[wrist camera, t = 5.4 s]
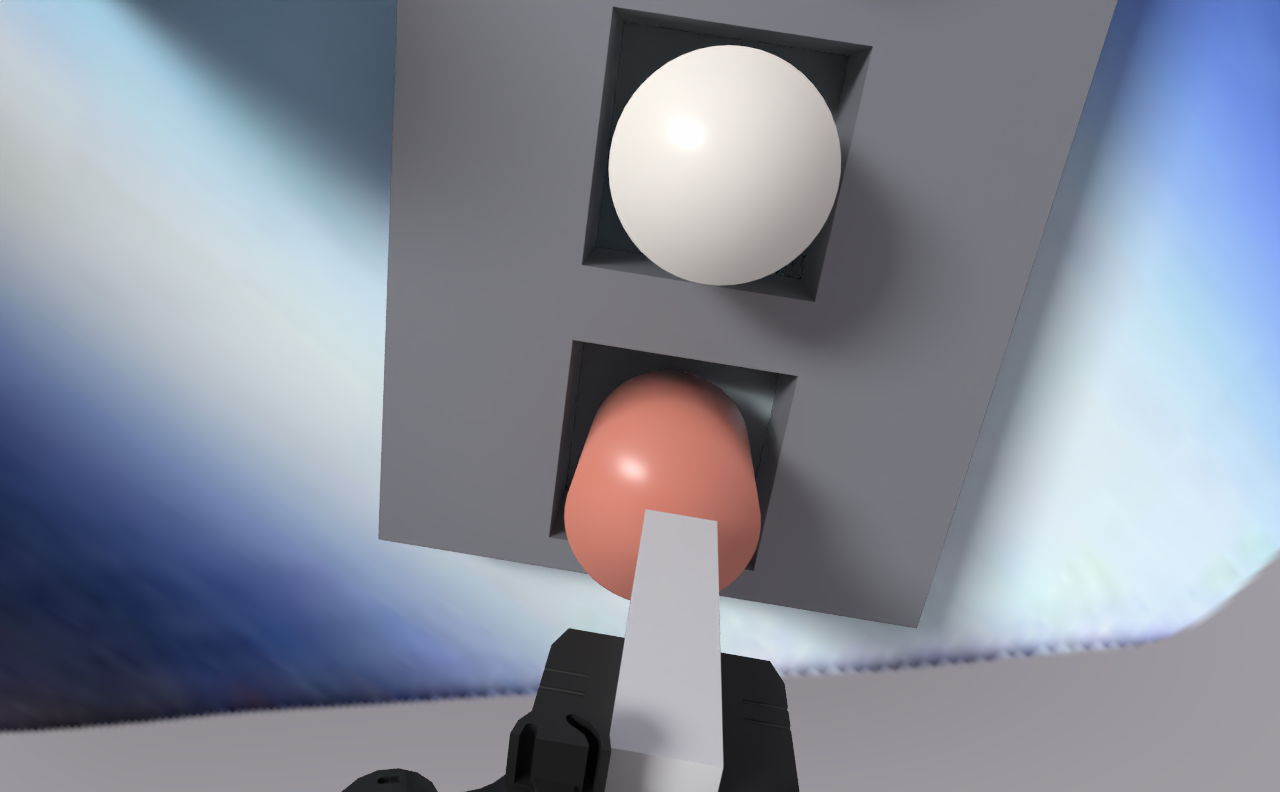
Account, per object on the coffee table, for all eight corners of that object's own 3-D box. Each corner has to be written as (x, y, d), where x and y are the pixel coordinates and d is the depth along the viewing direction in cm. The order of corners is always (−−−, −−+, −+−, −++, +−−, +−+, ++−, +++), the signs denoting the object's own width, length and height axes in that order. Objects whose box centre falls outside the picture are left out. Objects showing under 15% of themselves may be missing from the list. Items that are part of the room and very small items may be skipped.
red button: (580, 503, 23) (554, 589, 19) (599, 358, 22) (576, 416, 18) (732, 529, 23) (740, 620, 19) (763, 384, 22) (779, 449, 17)
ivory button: (616, 236, 21) (595, 266, 16) (641, 47, 19) (625, 28, 15) (788, 263, 21) (812, 301, 16) (828, 76, 19) (866, 65, 15)
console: (413, 493, 26) (378, 539, 23) (461, -446, 18) (416, -553, 15) (892, 572, 26) (916, 628, 23) (1166, -345, 17) (1256, -433, 15)
